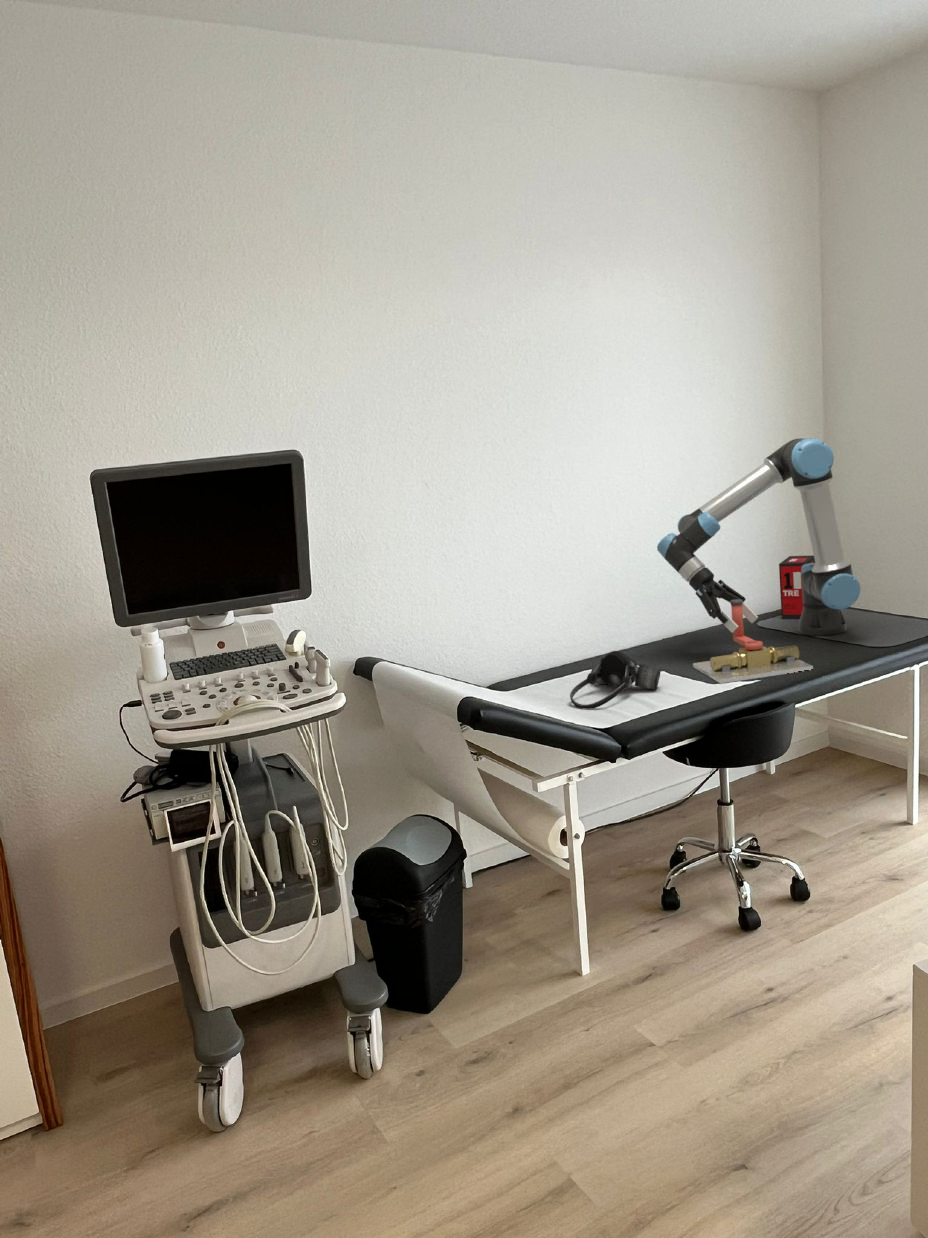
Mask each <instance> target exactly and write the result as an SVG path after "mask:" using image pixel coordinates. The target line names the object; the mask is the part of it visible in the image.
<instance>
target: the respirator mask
mask: <svg viewBox="0 0 928 1238" xmlns="http://www.w3.org/2000/svg"><path fill="white" fill-rule="evenodd" d="M661 671H662V670H661V668H656V667H652V666H649V665H646V664H639V665H638V664H637V662H636V661H635V659H633V658H631V657H630V656H628V655H627V654H626V653H624V652H622V651H620V650H613V651H610V652H608V653H607V655H605V657H601V659H600V662H599V663H595V664H594V665H593V666H592V667H591V672H590V673H587V677H586V678H585V679H584V680H582V681H581V682H580V683H578V684H577V685H575V686H574V687H573V688H572V690H571V691H570V693H569V699H570V701H571V704H572V705H574V706H575V707H576V708H578V707H579V708H578V709H583V708H593V709H597V708H598V707H601V706H603V705H605V704H607V703H608V702H610V701H611V700H613V699H614V698H616V697H617V696H618V695H620V693H622V691H624V690H626V689H630V688H631V687H632V685H633V684H634V686H635V687H639V688H645V689H647V690H652V691H656V690H657V689H658V685H659V681H660V677H661ZM588 684H589V685H595V684H598V685H607V684H608V685H610V686H614V687H616V689H615V690H614V691H613V692H611V693H609V694H608V695H607V696H605V697H603V698H602V699H600V700H598V701H594V702H592V703H588V704H582V703H578V702H577V701H576V700H575V699H574V696H575V694H576V693H577V692H579V691H580V690H581V689H582V688H583V687H585V686H587V685H588Z"/></svg>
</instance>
